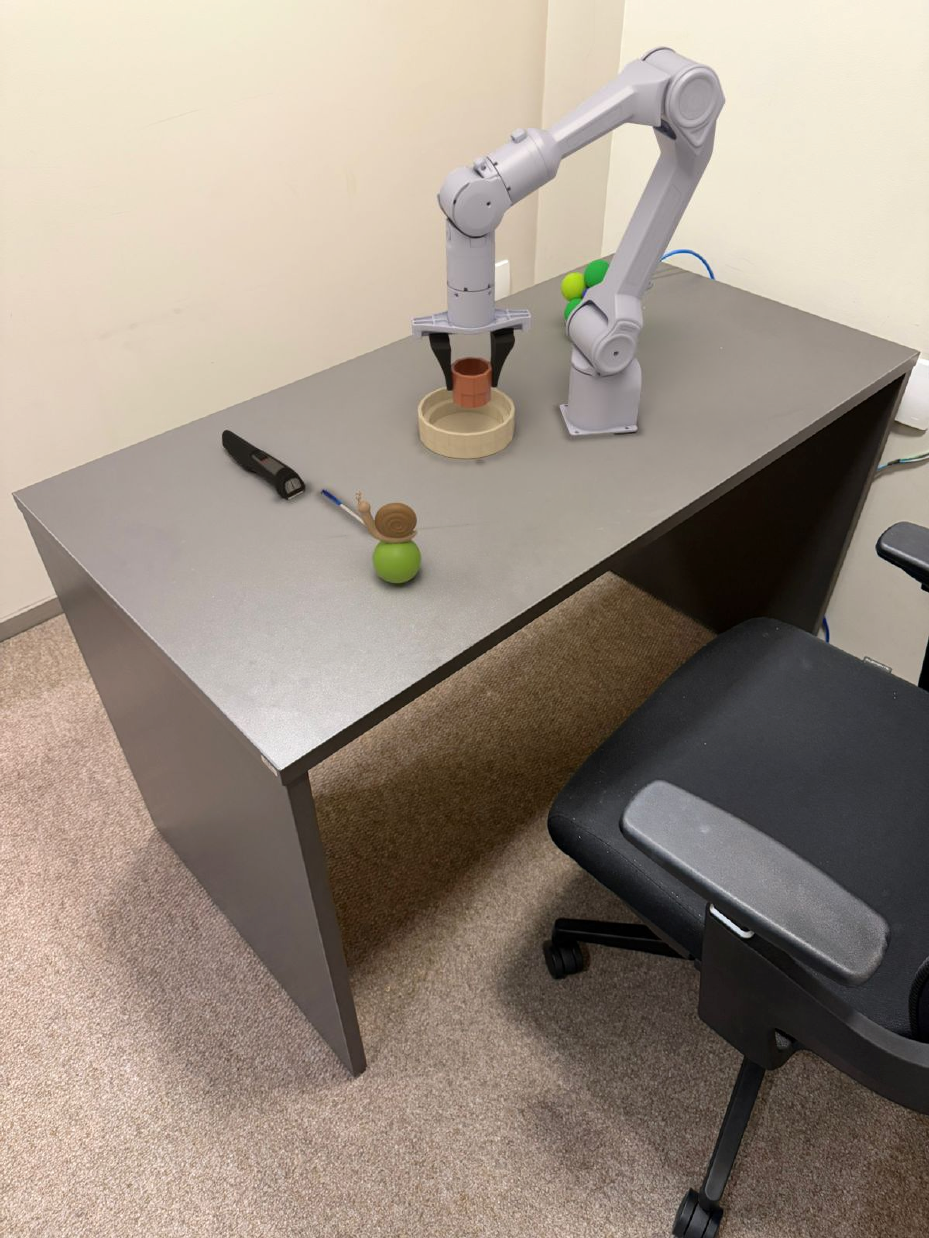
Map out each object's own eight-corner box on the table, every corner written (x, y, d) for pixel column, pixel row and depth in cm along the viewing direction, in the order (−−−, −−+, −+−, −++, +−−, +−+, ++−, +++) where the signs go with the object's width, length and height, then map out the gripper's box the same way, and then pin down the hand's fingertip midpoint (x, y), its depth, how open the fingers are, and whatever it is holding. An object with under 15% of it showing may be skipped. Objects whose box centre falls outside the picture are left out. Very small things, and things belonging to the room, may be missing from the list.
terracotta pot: (488, 386, 115) (488, 355, 112) (494, 407, 111) (494, 376, 108) (449, 389, 114) (448, 358, 111) (454, 410, 110) (453, 379, 107)
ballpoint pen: (319, 496, 110) (317, 489, 109) (324, 493, 110) (323, 486, 109) (370, 533, 104) (370, 527, 103) (376, 530, 105) (375, 523, 104)
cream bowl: (505, 406, 124) (505, 380, 121) (521, 457, 115) (522, 430, 112) (415, 414, 123) (414, 387, 120) (424, 465, 114) (422, 438, 111)
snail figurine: (366, 563, 100) (355, 478, 92) (421, 560, 100) (415, 475, 92) (366, 595, 96) (355, 509, 88) (423, 591, 97) (417, 505, 88)
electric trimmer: (241, 443, 119) (236, 423, 116) (308, 489, 110) (304, 469, 108) (218, 454, 117) (212, 434, 115) (284, 502, 109) (279, 481, 106)
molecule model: (584, 295, 142) (553, 276, 135) (631, 271, 136) (601, 250, 130) (591, 344, 140) (560, 327, 134) (638, 322, 135) (608, 303, 128)
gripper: (525, 264, 105) (521, 366, 115) (407, 271, 104) (413, 374, 113) (536, 288, 100) (531, 393, 110) (411, 297, 99) (417, 401, 108)
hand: (471, 385), depth 111 cm, fingers closed on terracotta pot, 5 cm apart
